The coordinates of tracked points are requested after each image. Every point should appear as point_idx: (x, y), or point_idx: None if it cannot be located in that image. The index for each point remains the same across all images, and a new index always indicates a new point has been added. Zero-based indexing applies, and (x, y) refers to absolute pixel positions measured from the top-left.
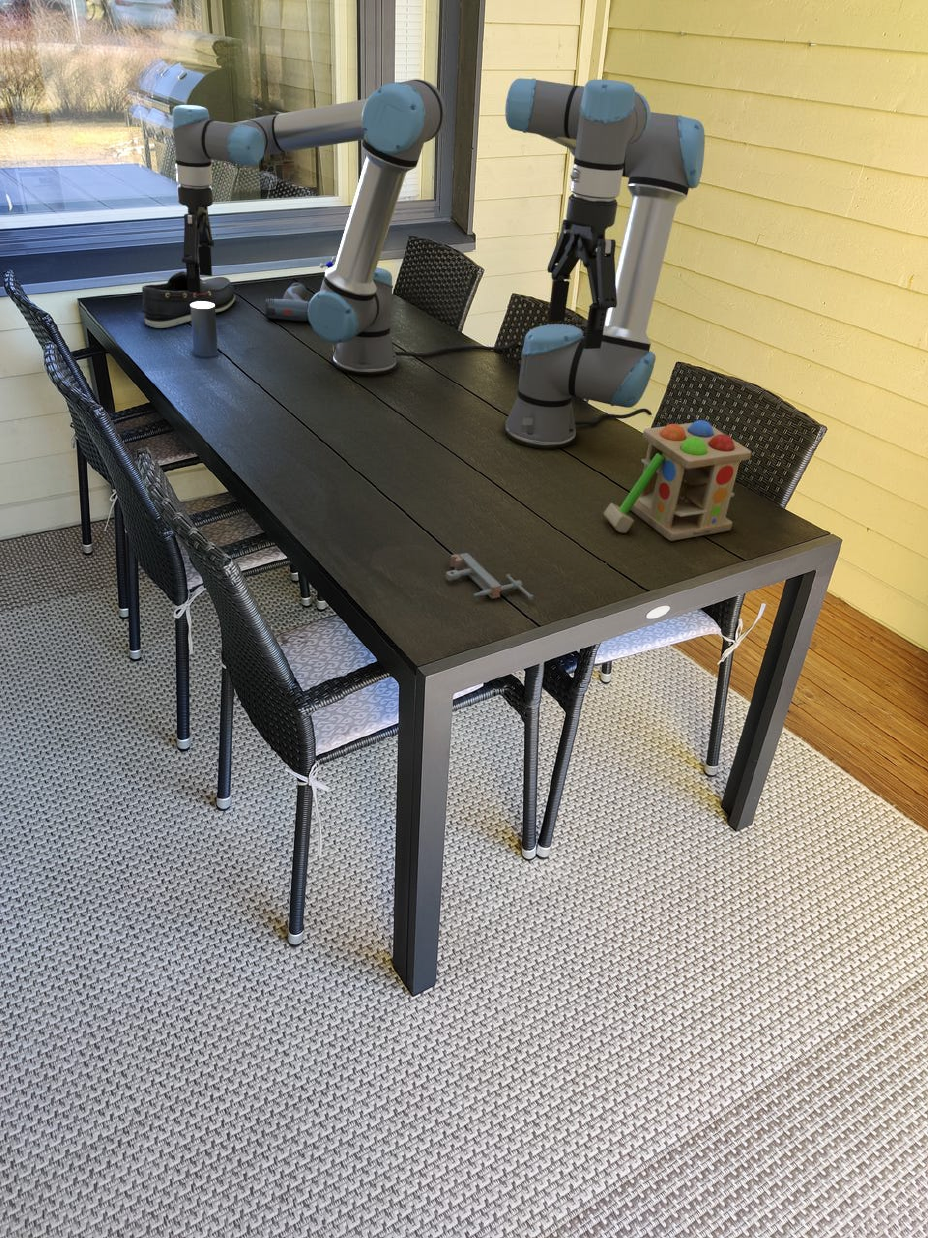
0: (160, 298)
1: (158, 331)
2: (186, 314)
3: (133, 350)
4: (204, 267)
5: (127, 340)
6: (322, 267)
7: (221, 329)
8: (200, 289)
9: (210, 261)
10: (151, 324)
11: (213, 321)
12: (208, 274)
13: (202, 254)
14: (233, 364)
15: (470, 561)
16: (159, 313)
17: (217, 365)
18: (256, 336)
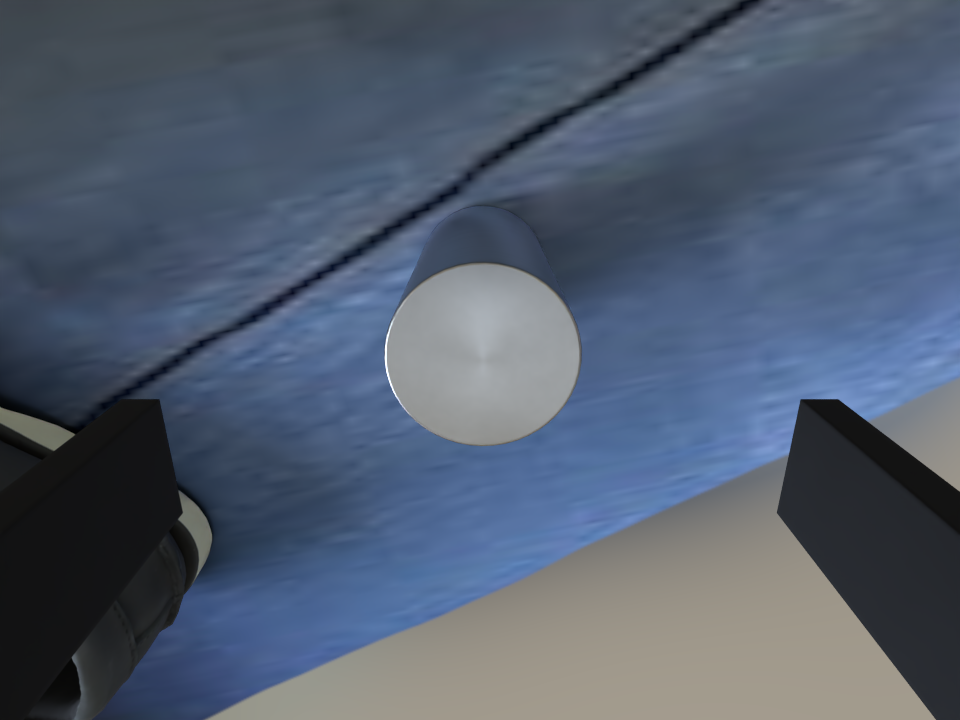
0: (117, 618)
1: (246, 522)
2: None
3: (511, 559)
4: (128, 517)
5: (398, 601)
6: None
7: (91, 256)
8: (814, 410)
9: (50, 495)
10: (202, 564)
11: (520, 248)
12: (158, 435)
13: (17, 665)
14: (629, 87)
15: None
16: (180, 569)
17: (654, 174)
18: (119, 26)
